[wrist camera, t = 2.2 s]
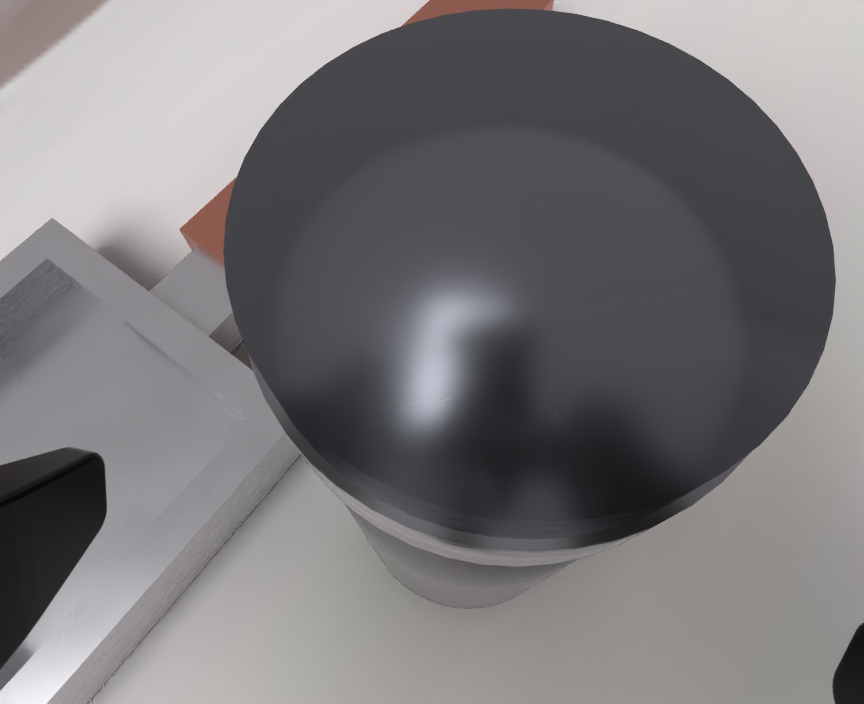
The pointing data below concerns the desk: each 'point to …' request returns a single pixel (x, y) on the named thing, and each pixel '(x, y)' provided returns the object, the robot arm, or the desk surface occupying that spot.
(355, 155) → the dark grey tall cylinder
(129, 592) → the square pan with handle
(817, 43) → the desk surface
